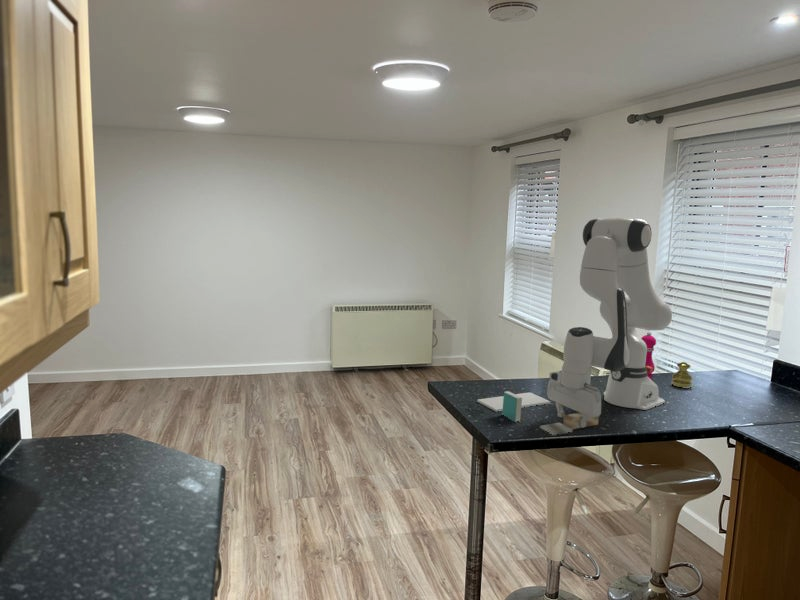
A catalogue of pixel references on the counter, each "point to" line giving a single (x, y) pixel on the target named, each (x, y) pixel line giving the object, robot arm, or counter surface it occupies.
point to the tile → (512, 406)
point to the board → (527, 398)
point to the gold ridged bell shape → (682, 376)
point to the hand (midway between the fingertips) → (571, 421)
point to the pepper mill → (649, 351)
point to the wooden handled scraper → (568, 424)
